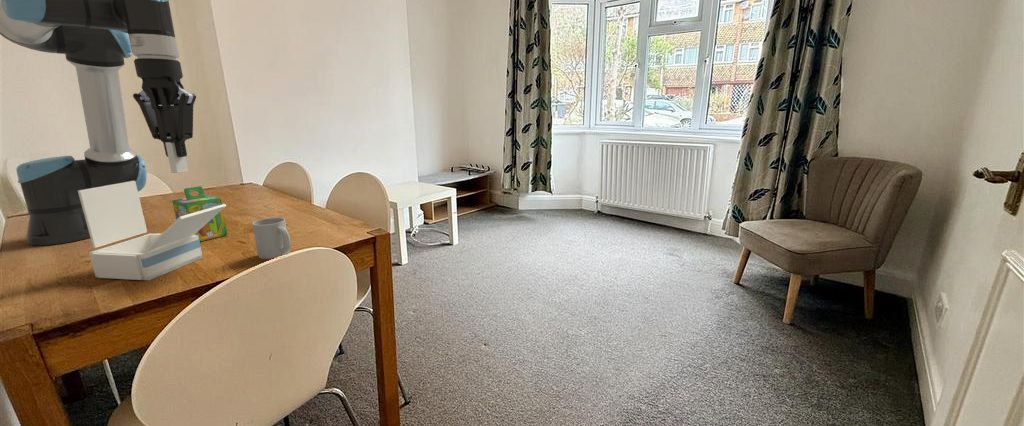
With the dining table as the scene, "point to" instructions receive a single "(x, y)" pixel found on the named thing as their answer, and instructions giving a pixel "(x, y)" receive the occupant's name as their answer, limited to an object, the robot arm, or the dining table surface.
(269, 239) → the cup
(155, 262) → the carton
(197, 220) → the flap
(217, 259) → the dining table surface
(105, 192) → the flap
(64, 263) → the dining table surface
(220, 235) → the chalk box
